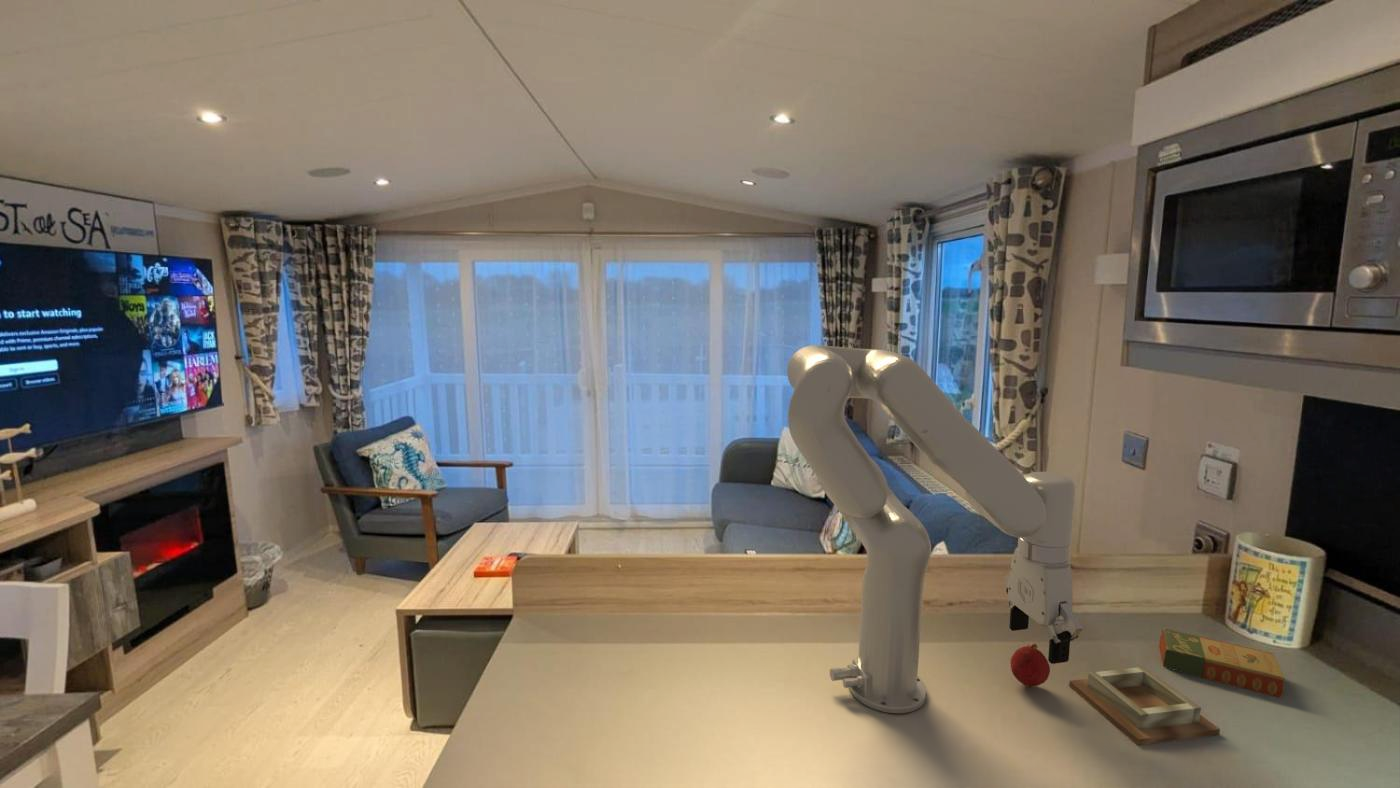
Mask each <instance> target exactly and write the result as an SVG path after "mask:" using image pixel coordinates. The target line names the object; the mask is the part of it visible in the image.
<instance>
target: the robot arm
mask: <svg viewBox="0 0 1400 788" xmlns="http://www.w3.org/2000/svg"><path fill="white" fill-rule="evenodd" d="M786 375H787V379H788V382H789V384H790V385H791V387H792V389H793V392H792V395H791V396H790V397H791V398H790V400H789V405H788V406H789V407H788V412H787V420H788V421H787V423H788V425H787V426H788V430H789V434H790V436H791V438H792V441H793V443H794V444H795V446H796V448H797V449H798V451H799V453H800V454H801V455H802V457H803V459H804V460H805V461H806V463H807V464H808V465H809V468H810V470H811V471H812V472H813V473H814V475H815V476H816V478H817V481H818V484H819V486H820V487H821V489H822V490H823V492H824V493H825V495H826V496H827V497H828V499H829V500H830V501H831V503H833V505H834V506H835V508H836V509H837V510H838V512H839V513H840V515H841V516H842V518H843V519H844V520H845V521H846V523H847V524H848V525H849V526H850V528H851V530H852V531H853V532H854V534H855V535H856V537H857V538H858V539H859V541H860V543H861V544H862V546H863V548H864V549H865V551H866V554H867V555H866V557H867V558H866V565H865V570H864V573H863V577H862V583H861V594H860V595H861V597H860V600H861V601H860V622H859V641H858V657H852V664H848V665H847V667H836V668H835V667H834V668H832V667H831V668H830V669H829V676H830V679H831V681H833V682H835V681H842V686H843V688H844V689H846V688H847V689H849V691H850V693H851V695H852V696H853V697H854V698H855V699H856V700H858V701H859V702H860V703H861V704H863V705H865V706H867V707H869V708H870V709H874V710H875V711H878V712H879V711H880V712H883V713H889V714H905V713H906V714H907V713H911V712H914V711H917V710H918V709H920V708H921V707H923V705H924V704H925V702H926V699H927V687H926V685H925V683H924V681H923V680H922V679H921V677H919V675H918V673H919V671H918V670H919V656H920V655H919V654H920V645H921V644H920V642H921V640H920V639H921V626H922V614H923V613H922V612H923V599H924V597H923V595H924V586H925V579H926V576H927V572H928V569H929V568H928V567H929V563H930V560H931V557H932V555H931V554H932V545H931V539H930V535H929V533H928V531H927V530H926V528H925V526H924V525H923V524H922V522H921V521H920V519H918V517H917V516H915V514H913V512H912V511H911V510H910V509H909V508H907V507H906V506H905V505H904V504H903V503H902V502H901V501H900V499H898V497H897V496H896V494H895V493H894V492H893V491H892V489H891V488H890V487H889V485H888V481H887V478H886V476H885V474H884V472H883V470H882V469H881V468H880V466H879V465H878V463H877V462H876V461H875V460H874V459H873V458H872V457H871V456H870V455H869V453H868V452H867V451H866V449H865V448H864V446H863V445H862V444H861V442H860V441H859V440H858V439H857V436H856V435H855V433H854V432H853V430H852V429H851V427H850V425H849V424H848V422H847V420H846V417H845V416H846V415H845V409H846V404H847V402H848V399H849V398H850V399H869V400H870V399H871V400H872V401H874V402H875V403H876V404H877V405H878V406H879V407H880V408H881V410H883V412H884V413H885V414H886V415H887V416H888V417H889V418H890V419H891V420H892V421H893V422H894V424H895V425H896V426H897V427H898V428H899V429H900V430H901V432H902V433H903V434H904V435H905V436H906V437H907V438H908V440H910V441H911V443H912V444H913V445H914V446H915V447H916V448H917V449H918V450H919V452H920V453H921V454H923V456H924V457H926V459H928V461H930V462H931V463H932V464H933V465H934V466H935V467H937V468H938V469H939V470H940V471H942V472H943V473H945V474H946V475H947V476H948V477H950V478H951V479H952V480H953V481H955V482H956V484H958V485H959V486H961V488H962V489H964V490H965V492H964V493H965V497H966V500H967V502H968V504H969V506H970V507H971V508H972V509H974V511H975V512H977V513H978V514H979V515H980V516H982V517H983V518H984V519H986V520H988V521H989V522H990V523H991V524H992V525H994V527H996V528H998V529H999V530H1000V531H1001V532H1003V533H1004V534H1005V535H1007V536H1012V537H1014V538H1017V539H1018V540H1017V547H1015V549H1014V551H1013V555H1012V559H1011V564H1010V569H1009V574H1006V575H1004V583H1005V585H1006V586H1005V587H1007V588H1006V590H1005V592H1006V594H1007V597H1008V602H1007V603H1008V606H1009V607H1010V610H1009V611H1010V613H1009V629H1010V630H1011V631H1012V632H1014V631H1023V630H1028V629H1029V618H1030V619H1032V620H1033V621H1034V622H1036V623H1037V624H1039V625H1040V626H1043V627H1048V629H1049V632H1050V635H1051V637H1052V638H1050V639H1049V642H1048V643H1049V644H1048V657H1047V661H1048V663H1050V664H1051V665H1055V664H1062V663H1067V662H1069V660H1070V647H1071V642H1073V641H1074V640H1075V639H1078V638H1079V634H1080V633H1081V632H1082V631H1083V628H1084V627H1083V624H1082V623H1081V622H1080V619H1078V617H1077V616H1076V615H1075V612H1073V605H1074V603H1073V602H1074V601H1073V600H1074V596H1073V590H1074V589H1073V576H1072V568H1071V567H1072V566H1071V564H1070V563H1071V562H1070V561H1071V551H1072V550H1071V549H1072V548H1071V547H1072V535H1073V522H1074V521H1073V520H1074V506H1075V493H1076V491H1075V489H1076V488H1075V483H1074V482H1073V481H1072V479H1071V478H1069V477H1068V476H1066V475H1063V474H1061V473H1060V474H1059V473H1056V472H1050V471H1033V472H1029V473H1021V472H1020V470H1018V468H1016V467H1015V465H1014V464H1013V463H1012V462H1011V461H1010V460H1009V459H1008V458H1006V457H1005V455H1004V454H1002V453H1001V452H1000V451H999V449H997V448H996V447H995V446H994V445H993V444H992V443H991V442H990V441H989V440H988V439H987V438H986V437H985V436H984V434H982V433H981V431H980V430H979V429H977V428H976V427H975V425H973V424H972V422H970V421H969V419H967V418H966V417H965V416H964V414H963V413H962V412H961V411H960V410H959V408H958V407H957V406H955V404H954V403H953V402H952V401H951V400H950V399H949V397H948V396H947V395H946V394H945V393H944V392H943V391H942V389H941V388H940V387H939V386H938V385H937V384H936V382H935V381H934V380H933V379H932V378H931V377H930V375H928V373H927V372H926V371H925V370H924V369H923V368H922V367H921V365H919V364H918V363H917V361H915V360H913V359H912V358H911V357H908V356H906V355H903V354H900V353H897V352H894V351H891V350H887V349H886V350H885V349H875V348H854V347H843V346H831V345H829V346H828V345H820V344H819V345H818V344H814V345H807V346H804V347H802V348H800V349H798V350H797V351H796V352H794V354H792V355H791V357H790V359H789V361H788V364H787V368H786ZM1057 626H1060V627H1061V629H1062V631H1061V632H1059V631H1058V628H1057Z"/></svg>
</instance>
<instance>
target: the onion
mask: <svg viewBox="0 0 1400 788" xmlns="http://www.w3.org/2000/svg"><path fill="white" fill-rule="evenodd" d="M1038 648H1039V647H1038V644H1037V643H1035V642H1030V643H1029V644H1028V645H1027V646H1023V647H1019V648H1018V649H1016V650H1015V651H1014V653H1013V654H1012V655H1011V657H1010V670H1011V672H1012V675H1013V676H1014V677H1015V679H1016V680H1017V681H1018V682H1019V683H1021V684H1022V685H1023V686H1025V687H1026V688H1033V687H1037V686H1041V685H1042V684H1045V683H1046V681H1048V678H1049V676H1050V673H1051V668H1050V664H1049V663H1050V662H1049V661H1048V658H1046V656H1045V655H1044V653H1042V652H1041V651H1040V650H1039V649H1038Z"/></svg>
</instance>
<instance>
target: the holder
mask: <svg viewBox="0 0 1400 788" xmlns="http://www.w3.org/2000/svg"><path fill="white" fill-rule="evenodd" d="M1087 676H1088V677H1087V678H1083V679H1082V678H1081V679H1073V680H1069V683H1068V686H1069V687H1070V689H1072V690H1073V691H1074V692H1075V691H1076V692H1075V693H1076V694H1078V695H1079V696H1080V695H1081V696H1082V697H1083V698H1084V699H1083V698H1082V697H1081V696H1080V697H1081V698H1082V699H1083V700H1085V701H1086V702H1087V703H1088V702H1089V703H1088V704H1089V705H1090V704H1091V705H1090V706H1092V708H1094V709H1095V710H1096V709H1097V710H1098V711H1099V713H1100V714H1101V715H1102V716H1103V715H1104V716H1103V717H1104V718H1106V719H1107V720H1108V721H1109V722H1110V723H1111V724H1112V725H1113V726H1114V727H1116V728H1117V729H1118V730H1119V731H1120V732H1121V733H1123V734H1124V735H1125V736H1126V737H1128V738H1129V740H1131V741H1132V742H1133V743H1134V744H1135V745H1137V746H1144V745H1150V744H1159V743H1167V741H1168V742H1174V741H1173V740H1176V741H1182V739H1183V740H1190V739H1189V738H1191V739H1196V738H1197V737H1199V738H1205V737H1206V736H1207V737H1213V736H1220V733H1221V728H1219V726H1217V725H1215V724H1214V723H1213V722H1211V721H1209V719H1207V718H1205V716H1203V715H1201V710H1202V707H1201V706H1199V704H1197V703H1195V702H1194V701H1192V700H1191V699H1190V698H1188V697H1187V696H1186V695H1184V694H1183V693H1181V692H1180V691H1179V690H1178V689H1176V688H1175V687H1173V686H1172V685H1171V684H1169V683H1168V682H1166V681H1164V680H1163V679H1162V678H1160V677H1159V676H1157V675H1156V674H1155V673H1153V672H1152V671H1151V670H1149V669H1148V668H1146V667H1145V666H1139V667H1131V668H1123V669H1120V668H1119V669H1112V670H1104V671H1093V672H1091V671H1090V672H1088V675H1087ZM1097 710H1096V711H1097ZM1098 711H1097V712H1098ZM1197 739H1198V738H1197Z"/></svg>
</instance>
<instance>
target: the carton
mask: <svg viewBox="0 0 1400 788" xmlns="http://www.w3.org/2000/svg"><path fill="white" fill-rule="evenodd" d="M1158 643H1159V645H1158V647H1159V652H1161V653H1160V657H1161V663H1162V662H1163V663H1162V667H1163V666H1164V667H1163V668H1165V667H1166V668H1165V669H1167V668H1171V669H1175V670H1177V672H1179V671H1181V672H1180V673H1183V672H1184V673H1183V674H1186V675H1190V676H1195V677H1199V678H1203V679H1207V680H1211V681H1215V682H1218V683H1222V684H1224V685H1225V684H1226V685H1229V686H1232V687H1238V688H1240V689H1245V690H1248V691H1253V692H1257V693H1259V694H1264V695H1268V696H1272V697H1275V698H1279V699H1282V697H1283V694H1284V688H1285V676H1284V673H1283V670H1282V669H1281V666H1280V665H1279V662H1278V659H1277V658H1276V656H1275V653H1272V652H1269V651H1265V650H1260V649H1255V648H1251V647H1248V646H1242V645H1239V644H1234V643H1230V642H1225V641H1221V640H1220V641H1219V640H1215V639H1213V638H1212V639H1211V638H1207V637H1203V636H1199V635H1194V634H1190V633H1186V632H1182V631H1177V630H1172V629H1168V628H1165V627H1163V628H1162V631H1161V634H1160V637H1159V642H1158ZM1171 669H1170V670H1171ZM1175 670H1174V671H1175Z"/></svg>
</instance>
